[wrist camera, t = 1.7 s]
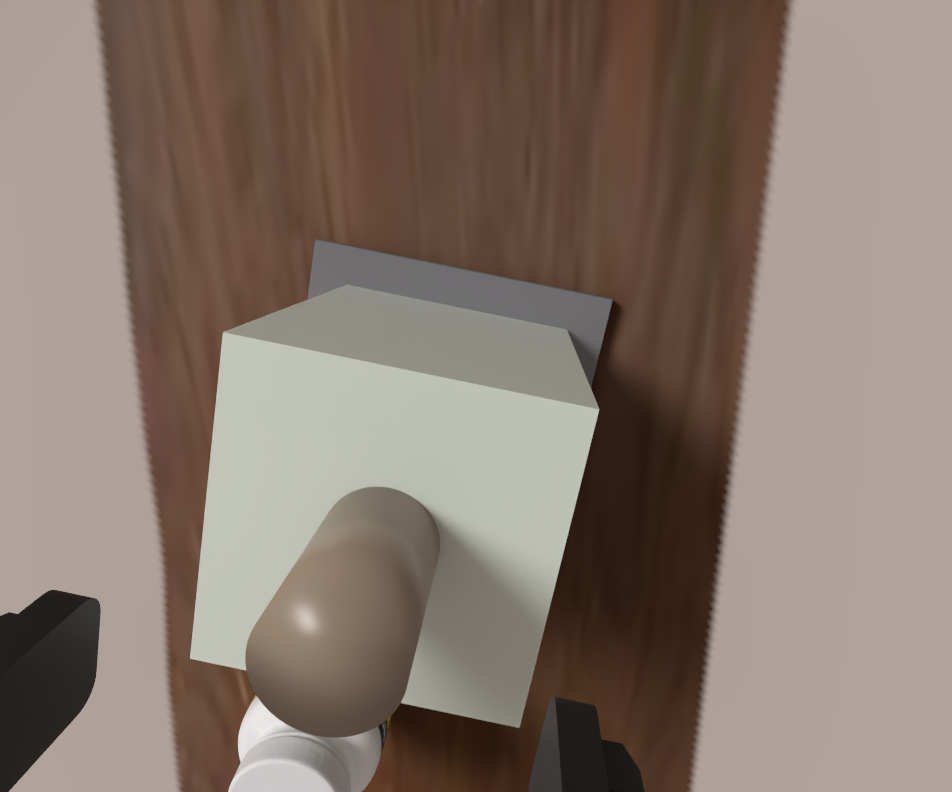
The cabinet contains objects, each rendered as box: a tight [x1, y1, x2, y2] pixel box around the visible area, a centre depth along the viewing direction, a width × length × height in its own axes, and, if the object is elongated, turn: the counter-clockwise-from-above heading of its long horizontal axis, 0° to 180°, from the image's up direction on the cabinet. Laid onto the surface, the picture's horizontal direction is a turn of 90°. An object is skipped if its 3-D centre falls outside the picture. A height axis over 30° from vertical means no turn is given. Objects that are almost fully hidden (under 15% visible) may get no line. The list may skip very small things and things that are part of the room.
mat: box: [308, 239, 613, 388], centre depth 29 cm, size 12×12×1 cm
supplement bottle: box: [228, 696, 391, 792], centre depth 28 cm, size 5×5×10 cm
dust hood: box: [190, 285, 599, 738], centre depth 21 cm, size 9×9×17 cm
